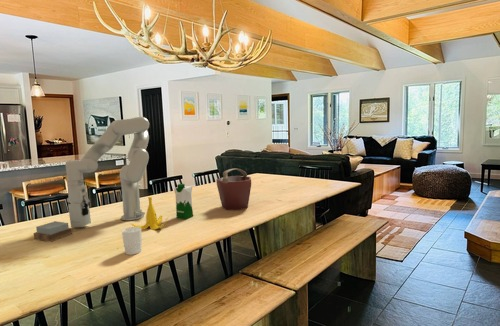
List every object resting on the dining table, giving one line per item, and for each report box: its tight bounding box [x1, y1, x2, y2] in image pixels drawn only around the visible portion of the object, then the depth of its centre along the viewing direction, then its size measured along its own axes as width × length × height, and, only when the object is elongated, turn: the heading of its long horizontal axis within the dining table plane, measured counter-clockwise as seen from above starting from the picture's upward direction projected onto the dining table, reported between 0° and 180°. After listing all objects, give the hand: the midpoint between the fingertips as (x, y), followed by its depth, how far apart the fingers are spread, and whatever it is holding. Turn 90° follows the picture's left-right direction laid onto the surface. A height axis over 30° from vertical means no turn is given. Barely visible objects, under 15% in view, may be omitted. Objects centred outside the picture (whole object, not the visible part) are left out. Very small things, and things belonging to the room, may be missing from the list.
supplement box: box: [67, 202, 92, 228], centre depth 183 cm, size 7×7×13 cm
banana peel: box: [130, 196, 164, 230], centre depth 179 cm, size 17×19×17 cm
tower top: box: [35, 221, 70, 235], centre depth 169 cm, size 10×10×3 cm
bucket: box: [216, 168, 252, 211], centre depth 217 cm, size 24×22×25 cm
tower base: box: [33, 227, 73, 243], centre depth 170 cm, size 12×12×3 cm
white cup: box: [121, 226, 143, 256], centre depth 145 cm, size 8×8×10 cm
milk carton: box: [173, 183, 194, 220], centre depth 196 cm, size 9×9×20 cm
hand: (79, 214), depth 183 cm, fingers closed on supplement box, 8 cm apart
